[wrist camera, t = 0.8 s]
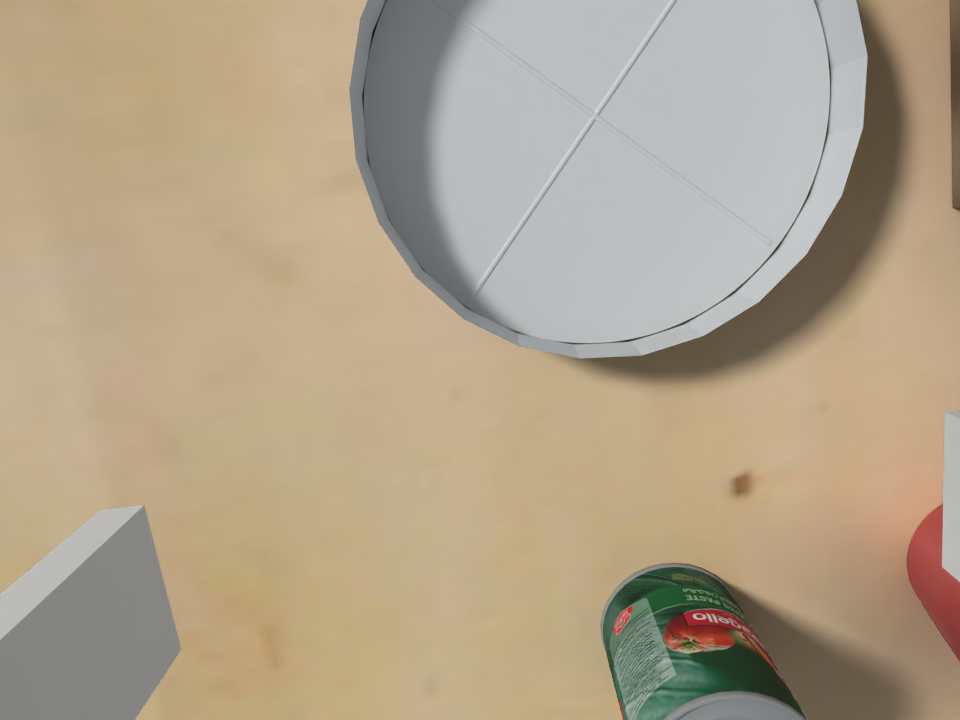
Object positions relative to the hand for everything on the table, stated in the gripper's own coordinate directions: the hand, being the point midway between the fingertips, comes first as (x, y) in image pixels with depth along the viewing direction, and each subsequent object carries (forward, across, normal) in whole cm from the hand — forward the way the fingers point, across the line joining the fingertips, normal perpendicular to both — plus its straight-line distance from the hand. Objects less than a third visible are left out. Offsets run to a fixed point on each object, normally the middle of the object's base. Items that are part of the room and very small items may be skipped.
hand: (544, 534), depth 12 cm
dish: (+27, +5, +8) cm, 28 cm away
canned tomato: (+26, +7, -20) cm, 34 cm away
